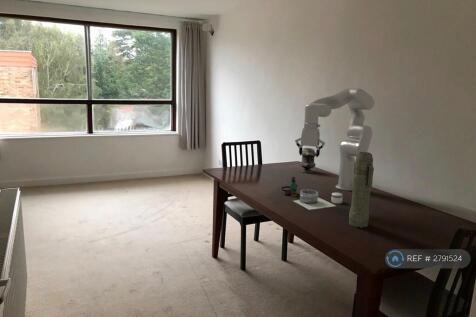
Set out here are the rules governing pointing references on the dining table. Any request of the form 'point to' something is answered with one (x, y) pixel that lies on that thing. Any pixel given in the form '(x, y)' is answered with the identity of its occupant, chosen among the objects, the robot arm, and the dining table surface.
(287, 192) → the binoculars
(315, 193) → the grey ring
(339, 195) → the cap
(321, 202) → the mat
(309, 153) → the apothecary jar
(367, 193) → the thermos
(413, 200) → the dining table surface
